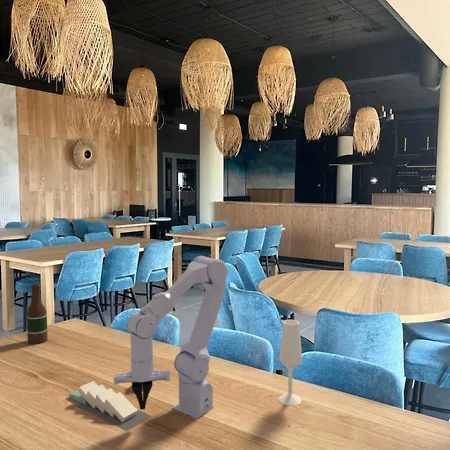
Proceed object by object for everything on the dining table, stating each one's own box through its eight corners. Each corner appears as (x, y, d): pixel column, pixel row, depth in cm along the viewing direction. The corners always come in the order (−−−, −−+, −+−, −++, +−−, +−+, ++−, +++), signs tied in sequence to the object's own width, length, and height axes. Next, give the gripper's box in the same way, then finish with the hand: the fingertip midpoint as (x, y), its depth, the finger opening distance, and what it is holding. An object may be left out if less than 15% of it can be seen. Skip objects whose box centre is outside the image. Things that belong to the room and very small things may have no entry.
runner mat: (151, 417, 119) (151, 416, 119) (126, 432, 112) (126, 430, 112) (101, 395, 132) (101, 393, 132) (75, 407, 125) (75, 405, 125)
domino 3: (118, 401, 124) (101, 384, 128) (104, 408, 120) (87, 390, 124) (117, 406, 125) (100, 388, 129) (103, 413, 121) (86, 394, 125)
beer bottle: (51, 340, 180) (49, 283, 178) (34, 345, 173) (32, 287, 171) (40, 336, 184) (38, 281, 182) (23, 342, 177) (21, 285, 175)
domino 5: (137, 410, 120) (119, 391, 124) (123, 417, 116) (105, 398, 120) (136, 414, 120) (118, 396, 124) (122, 422, 116) (104, 403, 120)
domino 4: (127, 405, 122) (110, 387, 126) (113, 413, 118) (96, 394, 122) (126, 410, 122) (109, 392, 126) (112, 417, 118) (95, 398, 122)
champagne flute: (274, 397, 131) (275, 320, 129) (293, 392, 134) (294, 317, 132) (286, 407, 125) (287, 326, 123) (305, 402, 128) (307, 323, 126)
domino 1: (99, 392, 129) (83, 387, 134) (85, 399, 125) (69, 393, 130) (99, 397, 129) (83, 392, 134) (85, 404, 125) (69, 398, 130)
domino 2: (109, 397, 127) (93, 380, 131) (95, 404, 123) (79, 387, 127) (108, 402, 127) (92, 385, 131) (94, 409, 123) (78, 391, 127)
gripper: (169, 350, 118) (169, 398, 120) (115, 353, 116) (116, 402, 117) (169, 361, 111) (170, 411, 113) (112, 364, 109) (113, 415, 111)
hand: (142, 407), depth 115 cm, fingers closed
